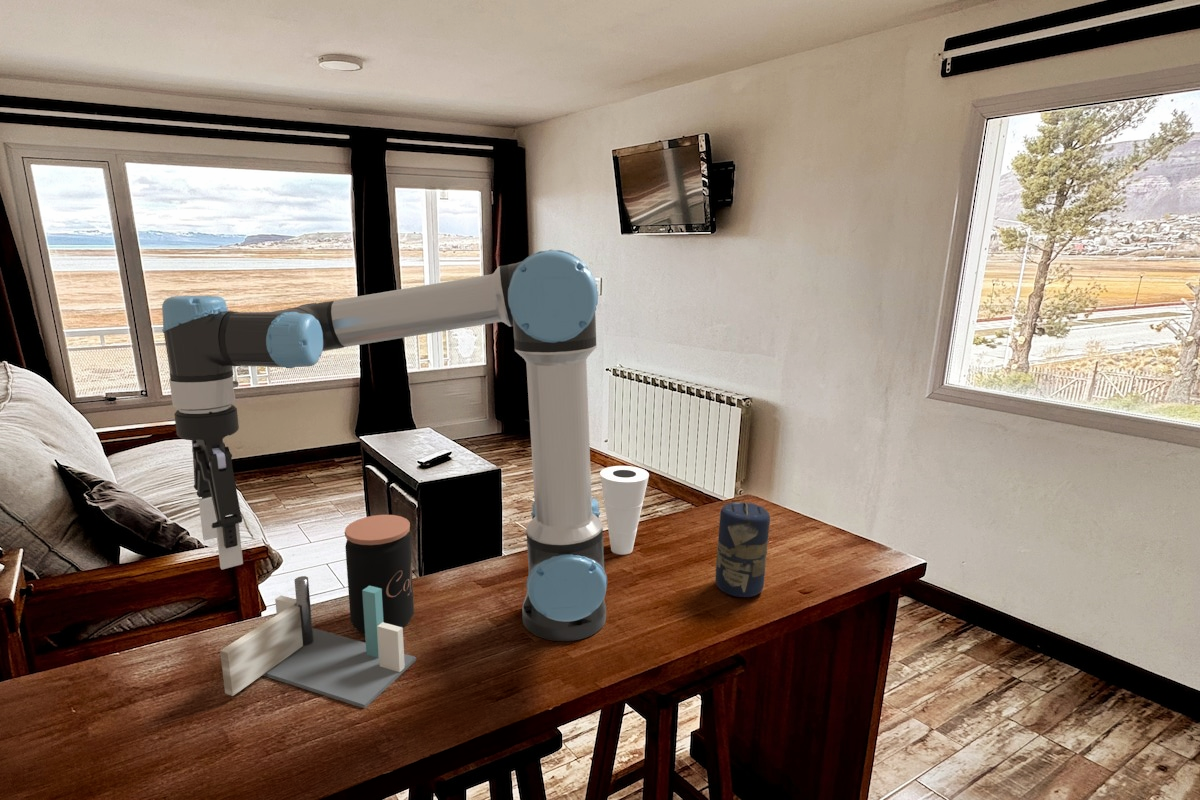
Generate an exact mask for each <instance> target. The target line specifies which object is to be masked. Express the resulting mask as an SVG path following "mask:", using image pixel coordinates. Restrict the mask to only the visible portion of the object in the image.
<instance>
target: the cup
mask: <svg viewBox="0 0 1200 800" xmlns="http://www.w3.org/2000/svg"><path fill="white" fill-rule="evenodd" d="M599 475H600V481H601V482H600V483H601V490H602V496H603V499H604V500H603V501H604V502H603V503H604V508H605V509H604V511H605V515H606V522H607V523H606V524H607V529H608V536H609V543H610V551H611V552H612V553H613V554H616V555H620V556H623V555H629V554H631V553H632V552H633V550H634V545H635V540H636V535H637V531H638V526H639V523H640V518H641V512H642V508H643V505H644V499H645V495H646V490H647V485H648V482H649V477H650V473H649V472H648V471H647V470H645V469H643V468H641V467H637V466H632V465H631V466H630V465H615V466H607V467H606V468H603V469H601V470H600V472H599Z"/></svg>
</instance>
